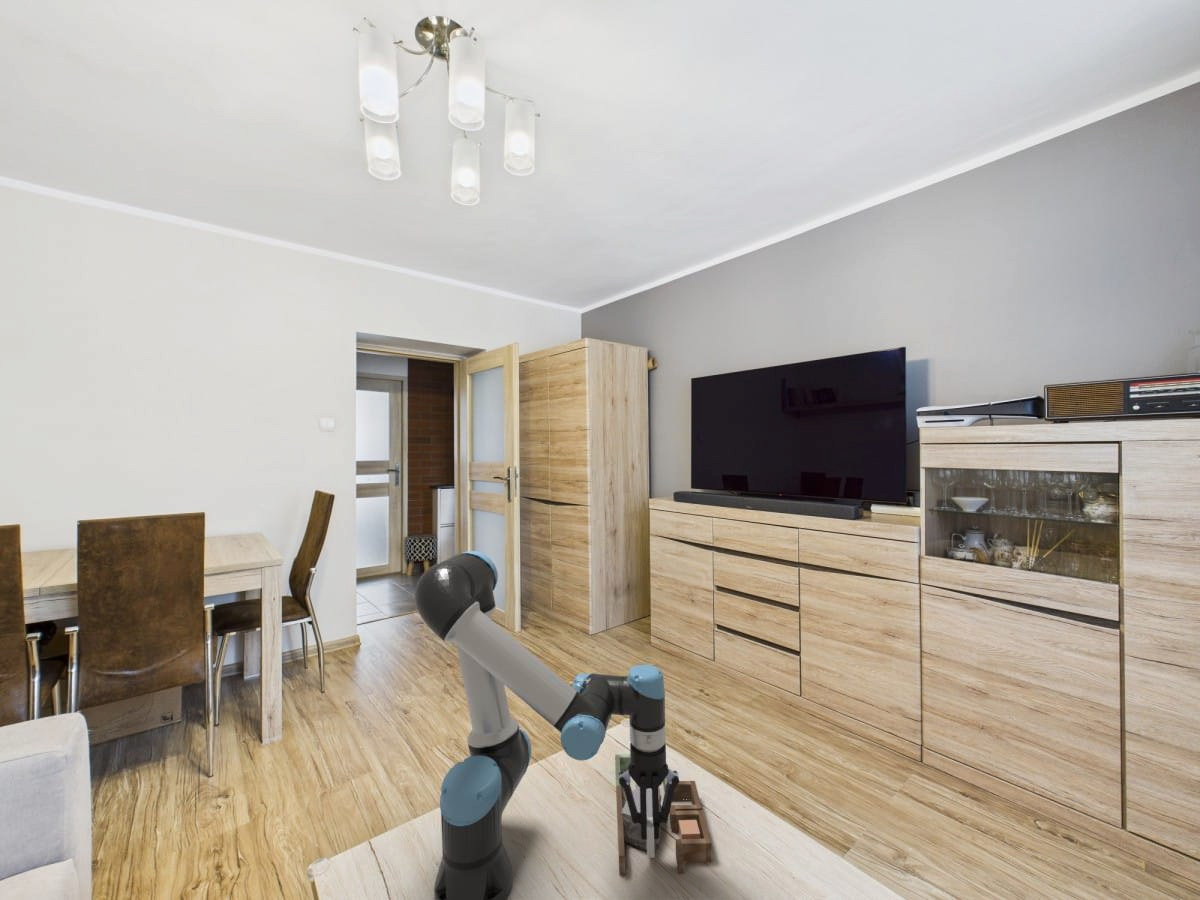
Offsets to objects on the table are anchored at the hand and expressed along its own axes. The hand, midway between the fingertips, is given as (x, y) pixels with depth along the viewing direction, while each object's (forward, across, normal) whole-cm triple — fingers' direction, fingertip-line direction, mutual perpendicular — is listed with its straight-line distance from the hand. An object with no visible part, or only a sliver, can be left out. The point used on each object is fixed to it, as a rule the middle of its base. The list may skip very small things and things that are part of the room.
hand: (650, 852), depth 107 cm
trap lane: (+2, +3, +13) cm, 14 cm away
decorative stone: (+2, -1, +9) cm, 9 cm away
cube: (+2, +9, +4) cm, 10 cm away
